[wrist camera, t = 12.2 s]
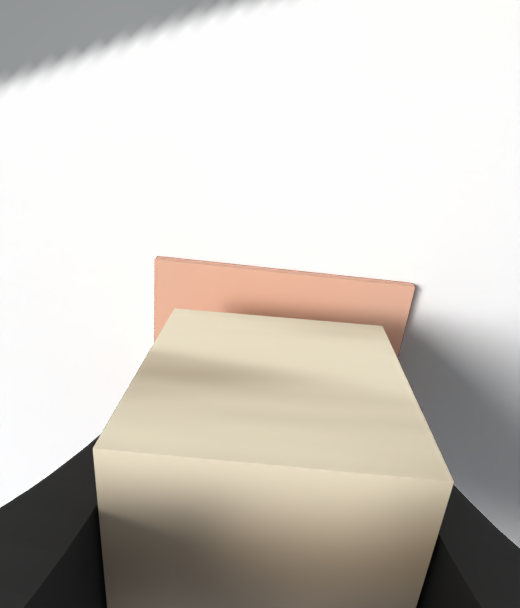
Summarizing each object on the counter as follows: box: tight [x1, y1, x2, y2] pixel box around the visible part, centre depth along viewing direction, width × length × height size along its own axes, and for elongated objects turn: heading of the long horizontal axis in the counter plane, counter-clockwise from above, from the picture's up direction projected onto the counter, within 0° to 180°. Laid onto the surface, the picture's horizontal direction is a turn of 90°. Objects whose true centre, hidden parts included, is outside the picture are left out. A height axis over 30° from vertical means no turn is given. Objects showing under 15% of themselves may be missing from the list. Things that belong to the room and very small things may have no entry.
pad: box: [154, 256, 415, 359], centre depth 14 cm, size 7×7×1 cm
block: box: [93, 308, 454, 608], centre depth 10 cm, size 5×5×5 cm
